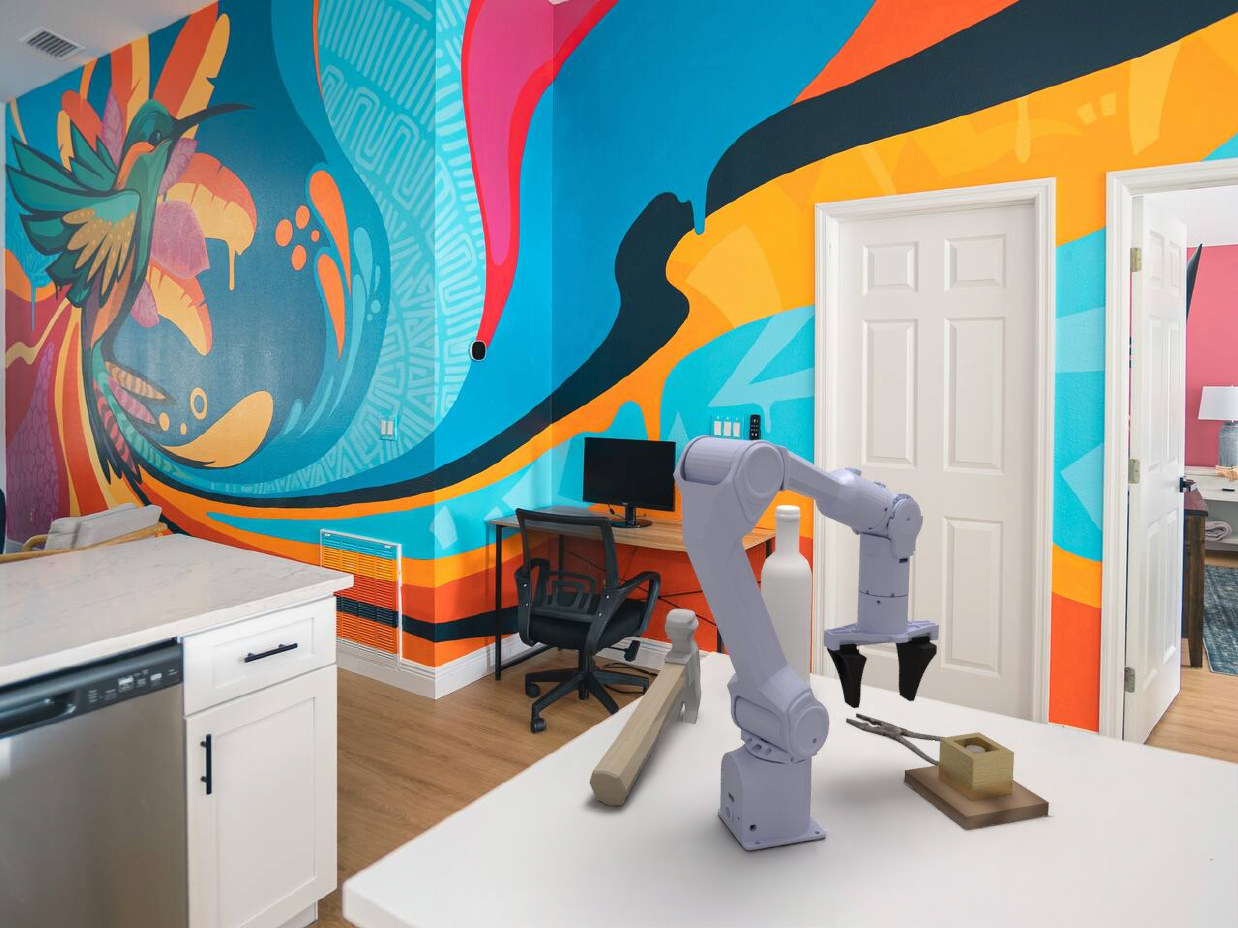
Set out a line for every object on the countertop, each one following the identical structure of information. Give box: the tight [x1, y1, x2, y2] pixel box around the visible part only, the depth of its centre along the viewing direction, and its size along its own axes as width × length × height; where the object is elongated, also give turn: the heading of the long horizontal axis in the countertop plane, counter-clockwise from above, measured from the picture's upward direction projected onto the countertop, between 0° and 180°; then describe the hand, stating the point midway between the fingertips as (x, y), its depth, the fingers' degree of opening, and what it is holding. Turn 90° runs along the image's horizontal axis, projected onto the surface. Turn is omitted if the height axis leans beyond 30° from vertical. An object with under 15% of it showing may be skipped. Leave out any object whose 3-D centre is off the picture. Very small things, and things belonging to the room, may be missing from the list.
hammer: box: [589, 608, 702, 807], centre depth 105 cm, size 16×5×30 cm
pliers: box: [845, 712, 945, 766], centre depth 108 cm, size 10×1×20 cm
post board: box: [903, 745, 1050, 831], centre depth 94 cm, size 11×11×6 cm
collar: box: [938, 732, 1015, 801], centre depth 93 cm, size 6×6×5 cm
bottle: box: [760, 504, 813, 687], centre depth 123 cm, size 8×8×30 cm
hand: (879, 701), depth 96 cm, fingers open, 7 cm apart
